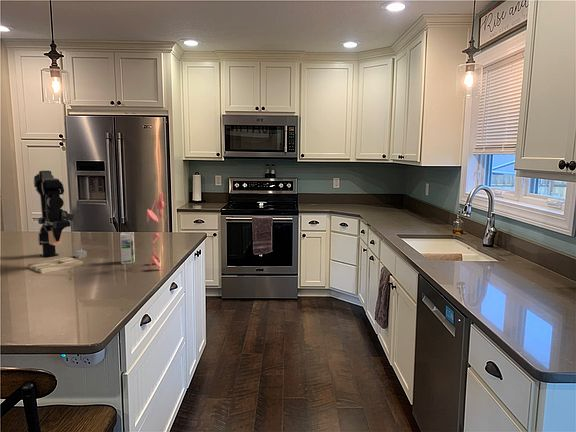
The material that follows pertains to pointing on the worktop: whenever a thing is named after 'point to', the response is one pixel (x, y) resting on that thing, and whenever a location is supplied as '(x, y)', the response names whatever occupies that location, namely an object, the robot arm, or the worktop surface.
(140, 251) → the worktop surface
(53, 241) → the tall peg
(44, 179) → the robot arm
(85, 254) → the short peg
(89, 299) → the worktop surface
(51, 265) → the hole board
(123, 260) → the syrup box
